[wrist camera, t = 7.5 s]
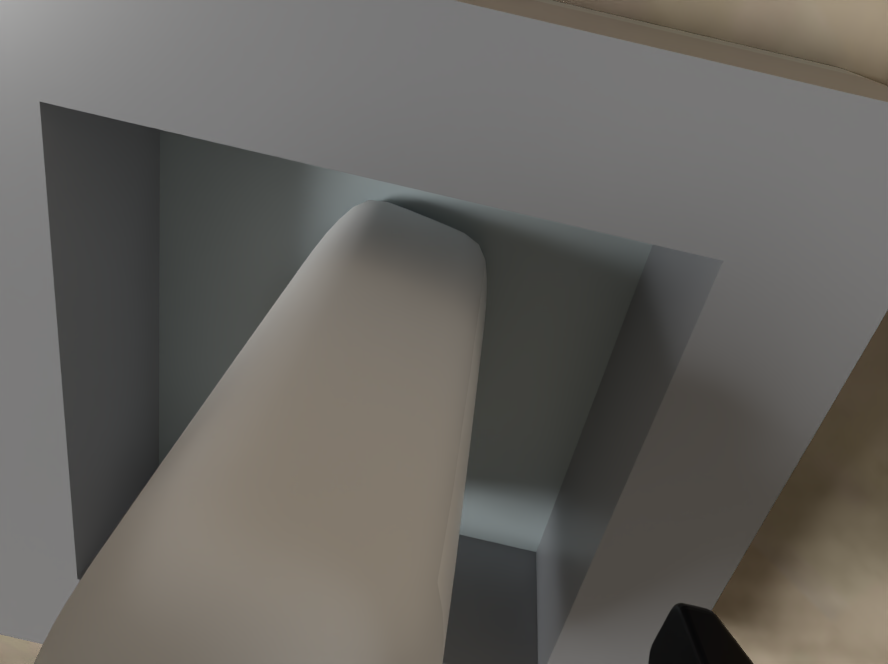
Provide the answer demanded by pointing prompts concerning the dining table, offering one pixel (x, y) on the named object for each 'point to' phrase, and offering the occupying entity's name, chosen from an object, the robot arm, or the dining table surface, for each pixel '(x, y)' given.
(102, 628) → the eye dropper bottle
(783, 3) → the dining table surface
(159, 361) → the holder block
